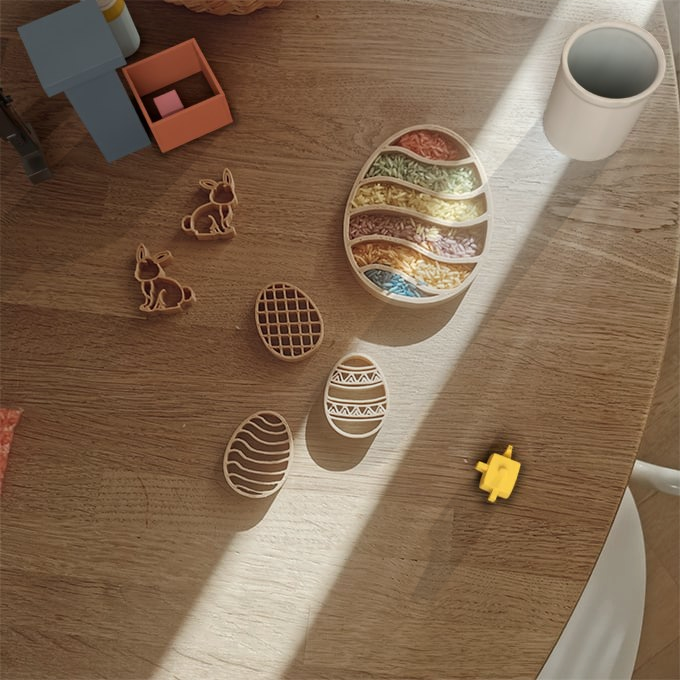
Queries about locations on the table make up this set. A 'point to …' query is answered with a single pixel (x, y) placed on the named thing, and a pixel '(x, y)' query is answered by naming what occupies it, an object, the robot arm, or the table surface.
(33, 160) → the dark grey angular piece
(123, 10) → the bottle
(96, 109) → the blue t-shaped block
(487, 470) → the teapot
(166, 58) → the bin
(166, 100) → the pink rectangular block
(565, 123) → the utensil holder
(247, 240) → the table surface
